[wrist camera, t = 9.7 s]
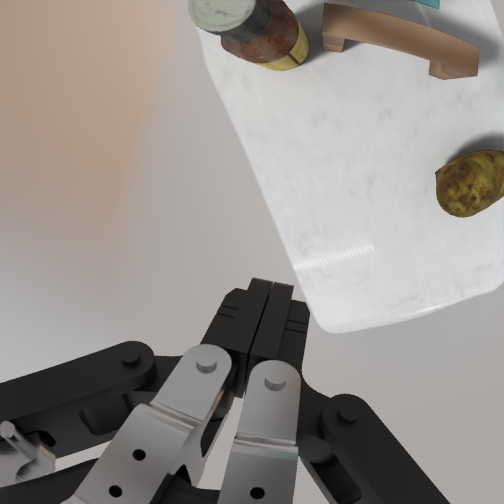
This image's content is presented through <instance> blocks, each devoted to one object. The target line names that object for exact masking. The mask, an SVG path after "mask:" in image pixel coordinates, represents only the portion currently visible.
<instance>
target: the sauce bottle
mask: <svg viewBox="0 0 504 504" xmlns="http://www.w3.org/2000/svg"><path fill="white" fill-rule="evenodd" d="M189 13H190V16H191V19H192V20H193V21H194V23H195V24H196V25H197V26H198V27H200V28H201V29H203V30H205V31H207V32H209V33H212V34H215V35H220V36H221V45H222V47H223V48H224V49H225V50H226V51H228V52H230V53H231V54H233V55H235V56H237V57H238V58H242V59H244V60H246V61H248V62H251V63H254V64H257V65H260V66H263V67H266V68H268V69H272V70H276V71H285V70H290V69H293V68H295V67H297V66H299V65H301V64H302V63H303V62H304V60H305V59H306V57H307V54H308V50H309V42H308V38H307V36H306V34H305V32H304V30H303V29H302V27H301V25H300V23H299V22H298V20H297V18H296V16H295V15H294V13H293V12H292V11H291V10H290V9H289V8H288V6H287V5H286V4H285V2H284V1H283V0H190V1H189Z"/></svg>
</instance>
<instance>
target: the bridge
mask: <svg viewBox="0 0 504 504" xmlns="http://www.w3.org/2000/svg"><path fill="white" fill-rule="evenodd" d="M322 37H323V47H324V50H328V51H334V52H340V53H341V52H342V48H343V45H344V41H345V39H350V40H355V41H360V42H365V43H369V44H374V45H378V46H382V47H386V48H390V49H394V50H398V51H401V52H405V53H408V54H412V55H415V56H418V57H421V58H424V59H427V60H430V68H429V75H431V76H434V77H437V78H440V79H443V80H447V79H455V78H464V77H474V76H477V75H478V60H479V47H476V46H474V45H472V44H470V43H468V42H465V41H463V40H461V39H458V38H456V37H453V36H451V35H448V34H446V33H443V32H440V31H438V30H435V29H432V28H429V27H426V26H423V25H420V24H417V23H414V22H411V21H407V20H404V19H400V18H397V17H393V16H389V15H385V14H381V13H377V12H373V11H368V10H363V9H358V8H353V7H347V6H341V5H335V4H328V3H324V14H323V26H322Z"/></svg>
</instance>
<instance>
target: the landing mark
mask: <svg viewBox="0 0 504 504" xmlns="http://www.w3.org/2000/svg"><path fill="white" fill-rule="evenodd" d="M413 1H416V2H419V3H422V4H425V5H428V6H431V7H434V8H437V9H439V0H413Z"/></svg>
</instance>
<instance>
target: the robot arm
mask: <svg viewBox="0 0 504 504" xmlns="http://www.w3.org/2000/svg"><path fill="white" fill-rule="evenodd" d="M293 289H294V286H293V285H288V284H283V283H278V282H274V284H273V281H268V280H263V279H258V278H252V280H251V283H250V285H249V287H248V289H247V290H243V289H239V288H235V289H234V290H232V291H231V292H229V293H228V294H227V295H226V296H225V298H224V300H223V301H222V303H221V306H220V307H219V309H218V311H217V313H216V315H215V317H214V318H213V320H212V322H211V324H210V326H209V328H208V330H207V332H206V334H205V335H204V337H203V339H202V341H201V343H200V345H197V346H194V347H192V348H190V349H189V350H188V351H187V352H186V353H185V354H184V355H182V356H173V357H172V356H154V353H153V351H152V349H151V348H150V347H149V346H148V345H146V344H144V343H142V342H138V341H127V342H124V343H120V344H117V345H115V346H112V347H109V348H107V349H103V350H101V351H98V352H95V353H92V354H89V355H86V356H83V357H80V358H77V359H74V360H71V361H68V362H66V363H63V364H60V365H56V366H53V367H50V368H47V369H44V370H41V371H38V372H35V373H32V374H28V375H26V376H22V377H19V378H16V379H12V380H9V381H6V382H3V383H0V504H292V503H293V502H292V501H293V495H294V487H295V479H296V471H297V462H298V456H300V458H301V461H302V463H303V464H304V466H305V467H306V469H307V471H308V472H309V474H310V475H311V477H312V478H313V479H314V481H315V482H316V484H317V485H318V487H319V489H320V490H321V492H322V493H323V495H324V496H325V498H326V499H327V500H328V502H329V503H330V504H450V503H449V502H448V500H447V499H446V498H445V497H444V496H443V494H442V493H441V492H440V491H439V490H438V488H437V487H436V486H435V485H434V484H433V482H432V481H431V480H430V479H429V478H428V476H427V475H426V474H425V473H424V472H423V471H422V469H421V468H420V467H419V466H418V465H417V463H416V462H415V461H414V460H413V458H411V456H410V455H409V454H408V452H407V451H406V450H405V449H404V448H403V446H402V445H401V444H400V443H399V442H398V440H397V439H396V438H395V437H394V435H393V434H392V433H391V432H390V431H389V429H388V428H387V427H386V426H385V425H384V423H382V421H381V420H380V419H379V417H378V416H377V415H376V414H375V412H374V411H373V410H372V409H371V408H370V406H369V405H368V404H367V403H366V402H365V401H364V400H363V399H361V398H359V397H358V396H355V395H351V394H339V395H336V396H334V397H332V398H329V397H327V396H325V395H323V394H321V393H319V392H317V391H315V390H313V389H312V388H311V387H310V386H309V385H308V384H307V383H306V382H305V380H304V378H303V375H302V371H301V370H302V362H303V356H304V350H305V344H306V337H307V330H308V323H309V317H310V311H309V309H308V307H307V304H306V302H301V301H296V300H291V299H292V293H293ZM244 392H245V397H244V403H243V408H242V412H241V416H240V421H239V425H238V429H237V433H236V436H235V438H234V440H233V444H232V448H231V452H230V456H229V460H228V464H227V468H226V472H225V476H224V479H223V483H222V487H221V490H210V489H200V488H196V487H197V485H198V483H199V481H200V479H201V476H202V474H203V471H204V467H205V463H206V461H207V458H208V456H209V454H210V452H211V450H212V448H213V446H214V444H215V442H216V440H217V438H218V436H219V434H220V432H221V430H222V427H223V426H224V423H225V421H226V419H227V417H228V414H229V410H230V408H231V406H232V403H233V400H234V397H238V398H242V397H243V395H244ZM110 440H112V441H111V442H110V444H109V445H108V446H107V448H106V449H105V451H104V452H103V453H102V455H101V456H100V458H96V459H92V460H88V461H85V462H82V463H80V464H77V465H74V466H71V467H69V468H66V469H63V470H60V471H57V472H54V471H55V459H57V458H60V457H64V456H67V455H70V454H73V453H76V452H79V451H82V450H85V449H88V448H91V447H94V446H97V445H99V444H102V443H105V442H108V441H110ZM144 458H145V459H144ZM53 472H54V473H53ZM47 474H48V475H47Z"/></svg>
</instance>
